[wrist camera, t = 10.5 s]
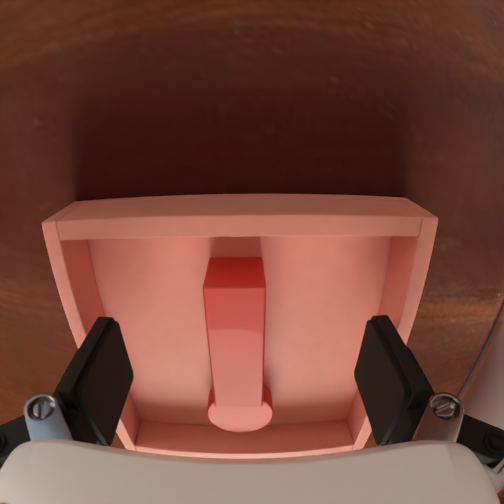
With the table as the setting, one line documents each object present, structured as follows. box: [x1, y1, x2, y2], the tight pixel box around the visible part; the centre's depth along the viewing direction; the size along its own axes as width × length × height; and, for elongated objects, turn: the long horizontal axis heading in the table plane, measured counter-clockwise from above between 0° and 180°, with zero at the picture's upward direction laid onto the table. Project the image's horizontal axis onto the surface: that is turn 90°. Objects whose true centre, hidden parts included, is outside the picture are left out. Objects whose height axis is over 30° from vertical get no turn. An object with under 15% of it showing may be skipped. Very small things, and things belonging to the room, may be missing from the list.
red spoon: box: [202, 257, 273, 432], centre depth 13 cm, size 3×10×2 cm, turn 0°
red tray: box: [42, 194, 438, 459], centre depth 13 cm, size 13×13×3 cm
